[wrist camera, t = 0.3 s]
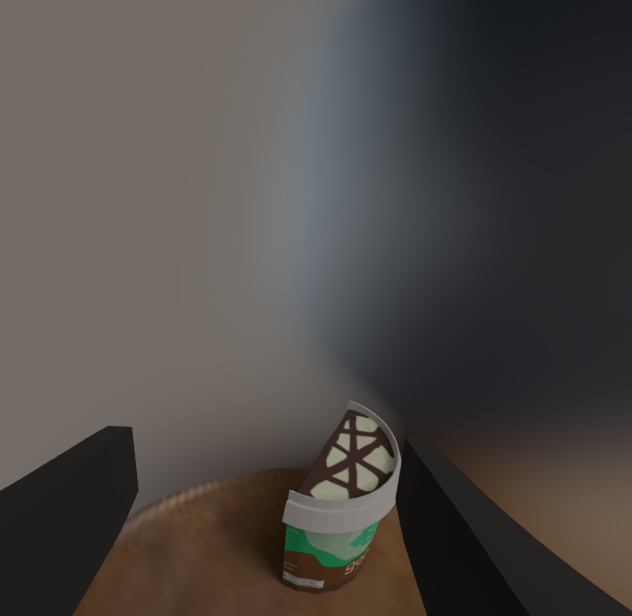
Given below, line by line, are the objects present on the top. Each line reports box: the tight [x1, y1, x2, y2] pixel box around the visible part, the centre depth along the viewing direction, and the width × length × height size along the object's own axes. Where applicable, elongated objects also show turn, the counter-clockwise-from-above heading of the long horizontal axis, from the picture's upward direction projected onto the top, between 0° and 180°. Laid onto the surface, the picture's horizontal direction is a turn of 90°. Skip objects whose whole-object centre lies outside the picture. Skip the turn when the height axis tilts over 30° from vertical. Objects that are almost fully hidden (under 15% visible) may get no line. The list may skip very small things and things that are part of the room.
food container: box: [282, 400, 401, 594], centre depth 27 cm, size 12×6×10 cm, turn 155°
